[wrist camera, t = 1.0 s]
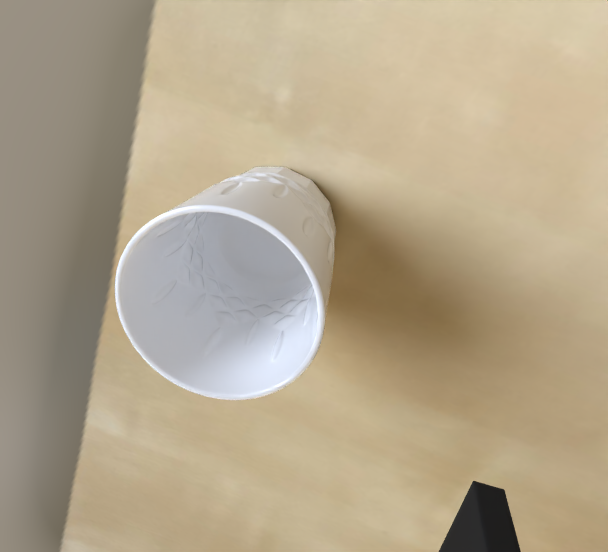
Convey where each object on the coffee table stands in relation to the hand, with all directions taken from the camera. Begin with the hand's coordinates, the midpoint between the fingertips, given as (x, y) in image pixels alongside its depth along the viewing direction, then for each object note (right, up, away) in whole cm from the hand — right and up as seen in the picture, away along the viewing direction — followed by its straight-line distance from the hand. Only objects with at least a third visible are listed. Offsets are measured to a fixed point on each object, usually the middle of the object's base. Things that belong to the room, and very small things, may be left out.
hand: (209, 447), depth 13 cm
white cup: (+1, +7, +15) cm, 16 cm away
